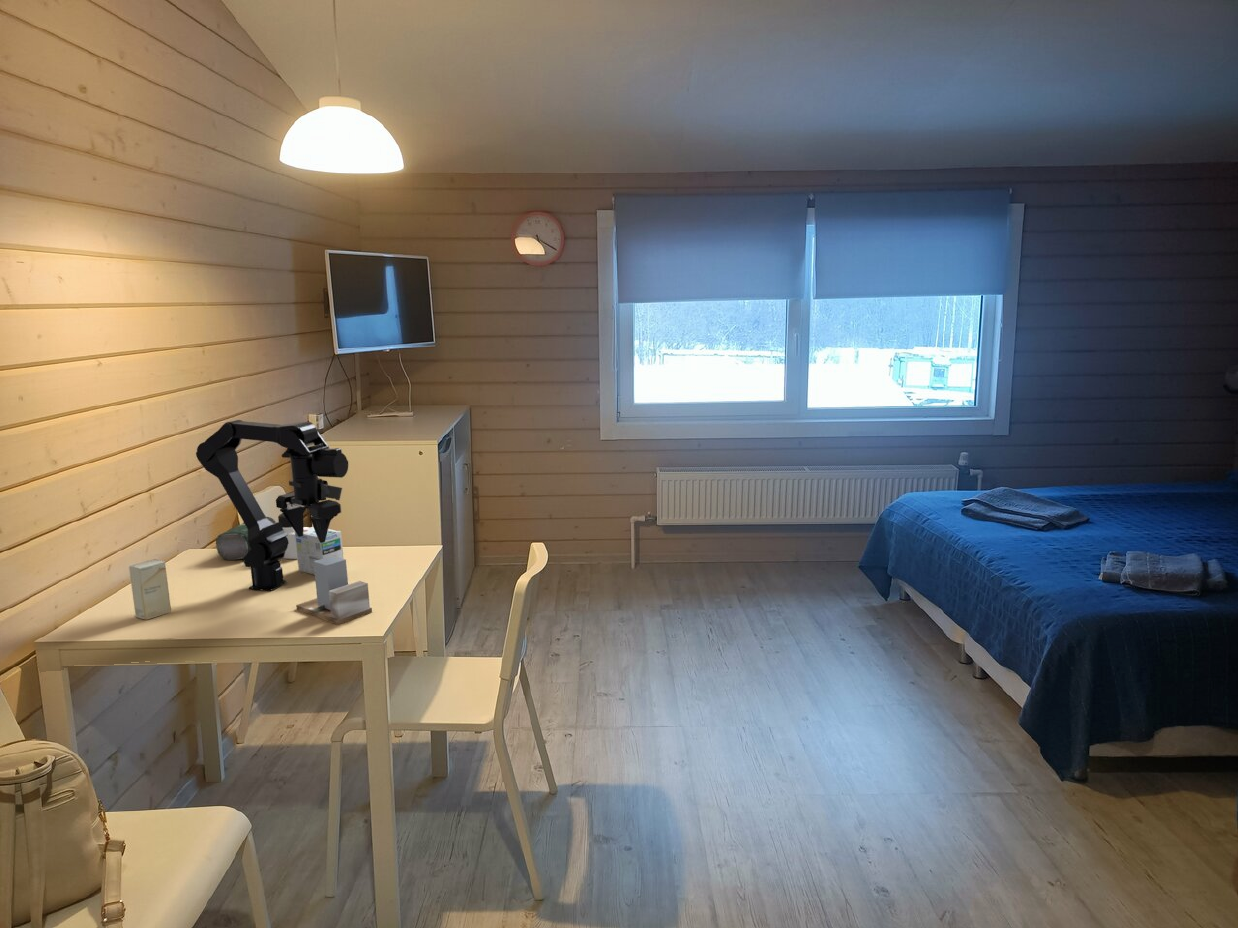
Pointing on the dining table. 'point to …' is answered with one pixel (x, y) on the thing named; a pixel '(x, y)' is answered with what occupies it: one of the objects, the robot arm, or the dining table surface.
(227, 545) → the coffee jar
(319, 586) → the blue-gray square block
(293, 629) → the dining table surface
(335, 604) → the block on stand
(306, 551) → the light bulb box
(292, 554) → the medicine bottle
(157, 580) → the skincare box
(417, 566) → the dining table surface
